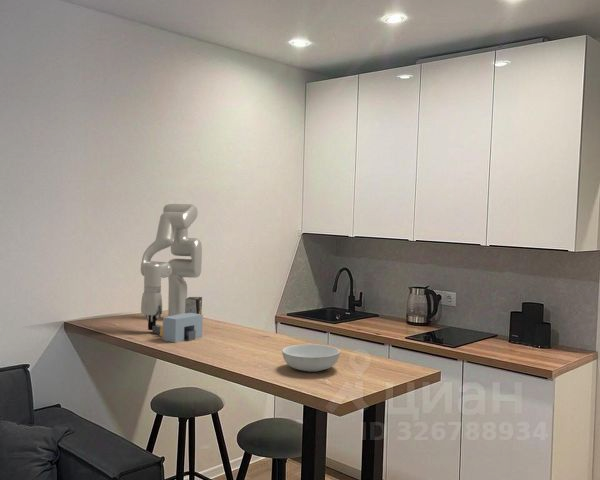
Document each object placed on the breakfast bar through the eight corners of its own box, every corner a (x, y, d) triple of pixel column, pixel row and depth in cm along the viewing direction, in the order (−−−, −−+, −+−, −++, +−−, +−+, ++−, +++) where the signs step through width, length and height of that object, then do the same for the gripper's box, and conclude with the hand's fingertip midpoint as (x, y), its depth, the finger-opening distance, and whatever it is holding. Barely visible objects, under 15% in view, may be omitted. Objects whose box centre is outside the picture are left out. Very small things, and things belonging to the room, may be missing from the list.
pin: (148, 334, 267) (148, 323, 267) (161, 331, 274) (161, 321, 273) (185, 341, 253) (185, 330, 253) (198, 338, 260) (198, 328, 260)
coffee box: (198, 334, 269) (198, 299, 268) (184, 334, 269) (184, 299, 268) (202, 330, 278) (202, 296, 277) (188, 330, 278) (189, 296, 277)
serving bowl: (294, 359, 227) (294, 341, 227) (346, 365, 220) (346, 347, 219) (272, 372, 208) (272, 352, 208) (328, 379, 200) (329, 359, 200)
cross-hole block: (162, 339, 255) (163, 317, 255) (189, 334, 268) (190, 312, 268) (175, 342, 251) (175, 319, 250) (202, 336, 264) (202, 314, 263)
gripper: (135, 289, 272) (134, 328, 273) (156, 292, 263) (156, 333, 264) (148, 287, 278) (147, 326, 279) (169, 290, 269) (169, 330, 270)
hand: (151, 329), depth 271 cm, fingers closed
